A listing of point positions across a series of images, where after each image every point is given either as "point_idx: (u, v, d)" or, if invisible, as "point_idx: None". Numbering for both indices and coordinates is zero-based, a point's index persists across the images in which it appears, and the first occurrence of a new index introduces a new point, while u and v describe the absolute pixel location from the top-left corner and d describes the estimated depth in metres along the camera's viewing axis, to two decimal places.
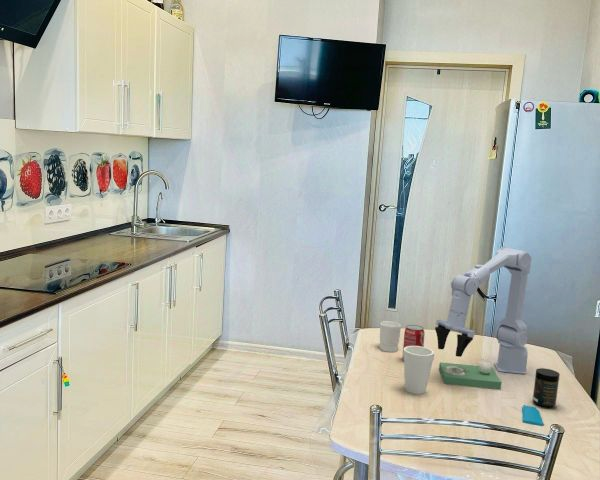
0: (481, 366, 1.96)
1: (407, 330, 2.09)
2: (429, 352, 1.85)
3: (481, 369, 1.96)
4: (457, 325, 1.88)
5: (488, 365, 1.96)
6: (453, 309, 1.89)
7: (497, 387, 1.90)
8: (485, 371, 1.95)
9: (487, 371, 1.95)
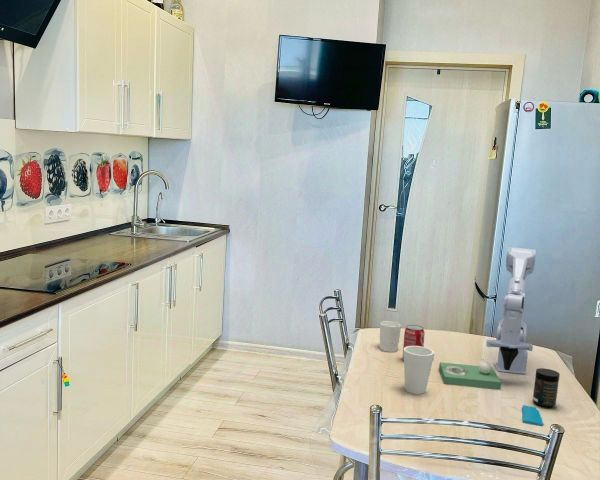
0: (481, 366, 1.96)
1: (407, 330, 2.09)
2: (429, 352, 1.85)
3: (481, 369, 1.96)
4: (518, 343, 1.93)
5: (488, 365, 1.96)
6: (511, 329, 1.92)
7: (497, 387, 1.90)
8: (485, 371, 1.95)
9: (487, 371, 1.95)
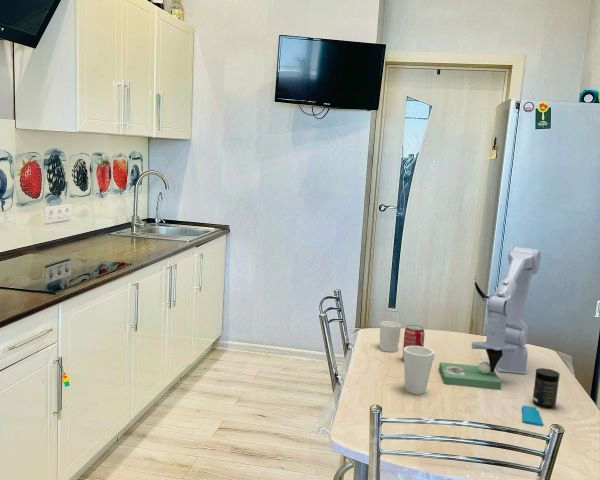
0: (480, 366, 1.96)
1: (407, 330, 2.09)
2: (429, 352, 1.85)
3: (481, 369, 1.96)
4: (503, 345, 1.94)
5: (487, 365, 1.96)
6: (494, 331, 1.93)
7: (497, 387, 1.90)
8: (485, 371, 1.95)
9: (487, 371, 1.95)
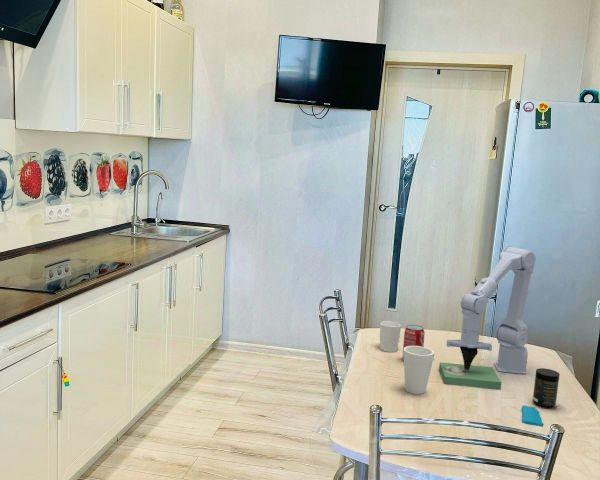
0: (459, 369, 1.97)
1: (407, 330, 2.09)
2: (429, 352, 1.85)
3: (457, 370, 1.97)
4: (477, 343, 1.95)
5: None
6: (465, 328, 1.94)
7: (497, 387, 1.90)
8: None
9: None
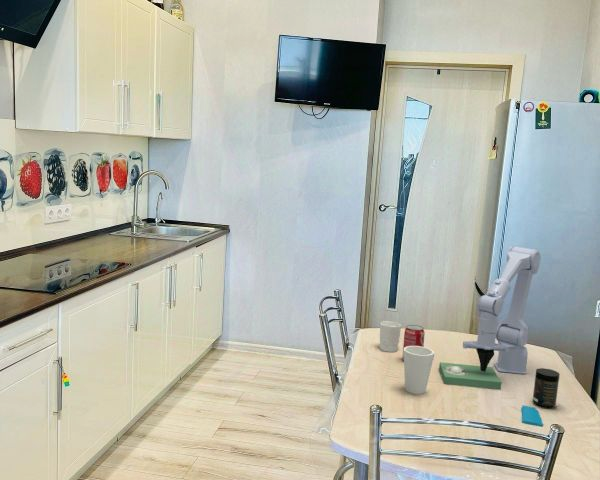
0: (458, 370, 1.97)
1: (407, 330, 2.09)
2: (429, 352, 1.85)
3: (455, 371, 1.96)
4: (493, 345, 1.94)
5: None
6: (483, 330, 1.93)
7: (497, 387, 1.90)
8: None
9: None
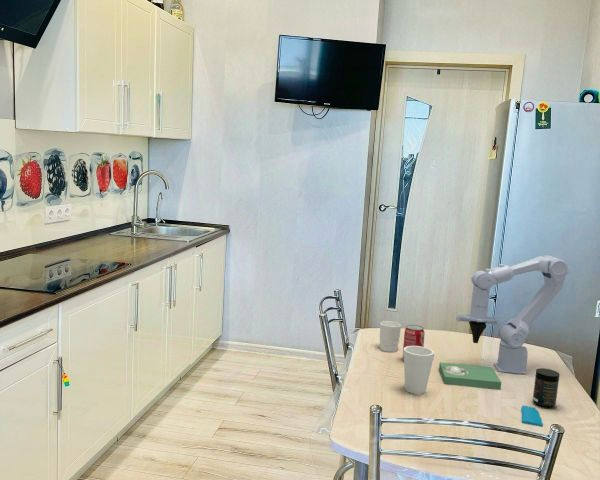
0: (457, 371, 1.96)
1: (407, 330, 2.09)
2: (429, 352, 1.85)
3: None
4: (485, 317, 2.05)
5: None
6: (472, 302, 2.06)
7: (497, 387, 1.90)
8: None
9: None
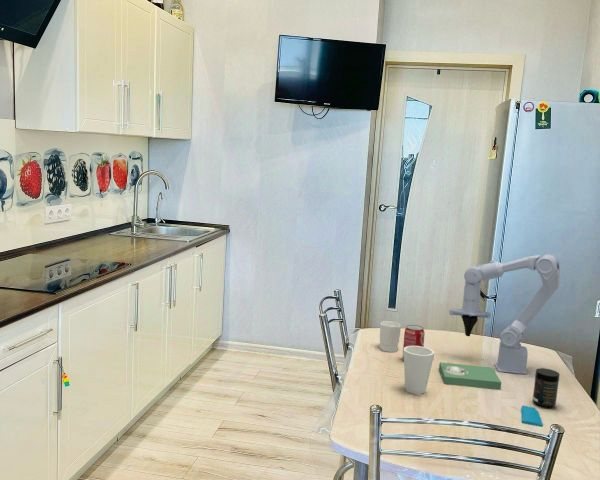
0: (456, 371, 1.96)
1: (407, 330, 2.09)
2: (429, 352, 1.85)
3: None
4: (477, 311, 2.13)
5: None
6: None
7: (497, 387, 1.90)
8: None
9: None
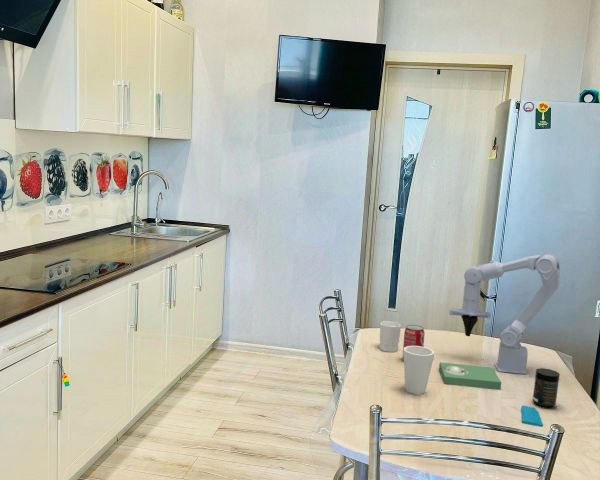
0: (456, 371, 1.96)
1: (407, 330, 2.09)
2: (429, 352, 1.85)
3: None
4: (477, 311, 2.13)
5: None
6: None
7: (497, 387, 1.90)
8: None
9: None
